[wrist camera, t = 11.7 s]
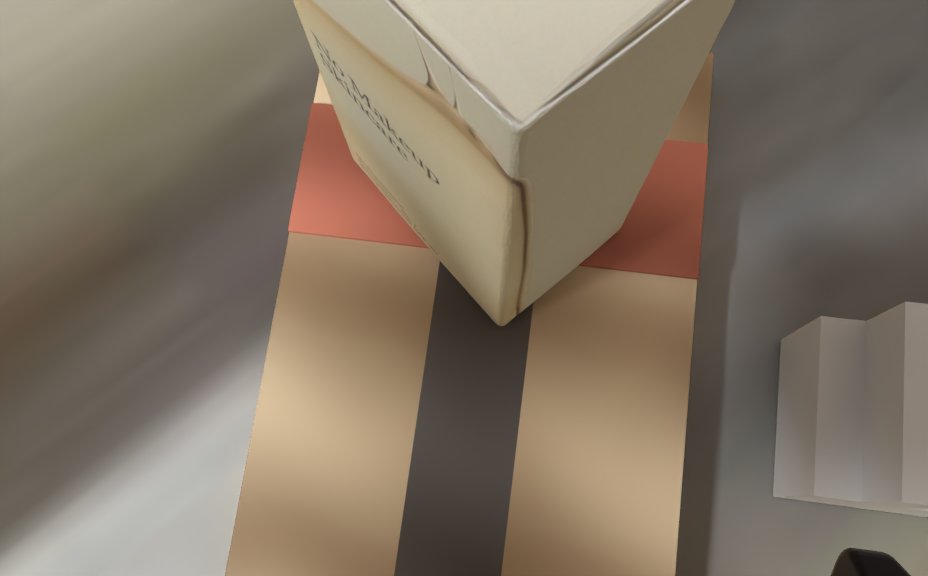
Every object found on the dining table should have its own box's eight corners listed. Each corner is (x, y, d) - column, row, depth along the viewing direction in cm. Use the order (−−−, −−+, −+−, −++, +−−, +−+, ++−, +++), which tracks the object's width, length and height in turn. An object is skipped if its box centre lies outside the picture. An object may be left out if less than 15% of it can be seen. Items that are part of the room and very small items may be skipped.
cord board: (654, 727, 21) (663, 743, 19) (223, 660, 22) (205, 670, 20) (704, 74, 25) (715, 49, 23) (338, 38, 25) (329, 12, 24)
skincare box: (349, 159, 23) (186, -199, 11) (478, 57, 24) (450, -387, 12) (506, 338, 22) (507, 144, 10) (639, 226, 22) (788, -85, 10)
